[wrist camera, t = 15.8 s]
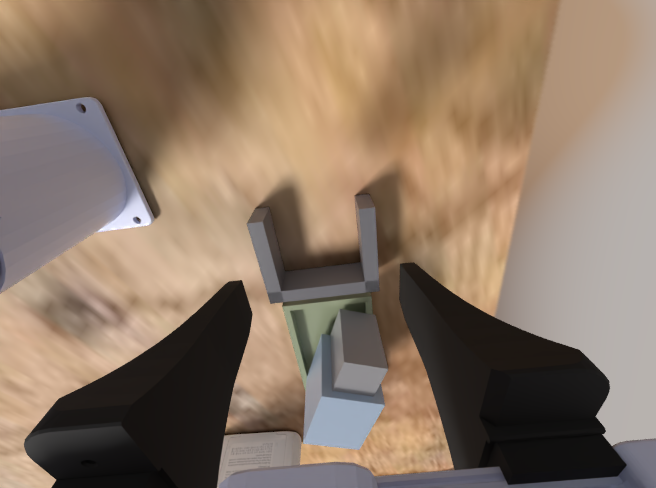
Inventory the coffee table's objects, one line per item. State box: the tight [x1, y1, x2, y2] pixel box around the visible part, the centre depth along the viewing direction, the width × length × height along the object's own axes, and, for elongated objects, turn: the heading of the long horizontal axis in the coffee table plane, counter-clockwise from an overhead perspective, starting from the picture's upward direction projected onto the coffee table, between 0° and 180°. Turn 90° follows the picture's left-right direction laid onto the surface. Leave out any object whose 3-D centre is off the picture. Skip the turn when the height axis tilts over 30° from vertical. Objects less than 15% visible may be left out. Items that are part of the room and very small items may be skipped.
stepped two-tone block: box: [303, 309, 388, 450], centre depth 22 cm, size 4×9×6 cm, turn 166°
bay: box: [247, 194, 380, 304], centre depth 20 cm, size 8×6×2 cm
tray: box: [282, 292, 373, 392], centre depth 26 cm, size 7×12×2 cm, turn 7°
